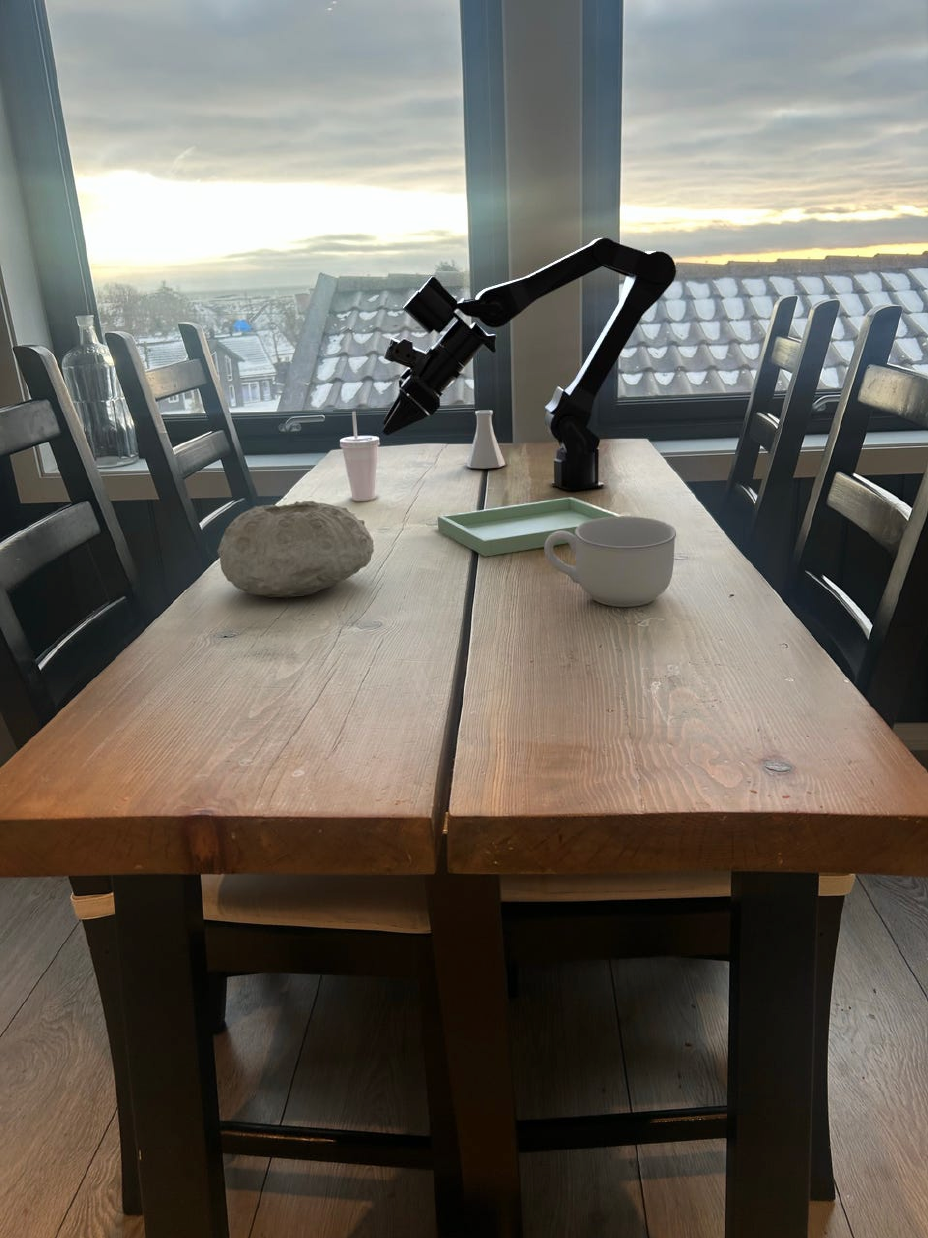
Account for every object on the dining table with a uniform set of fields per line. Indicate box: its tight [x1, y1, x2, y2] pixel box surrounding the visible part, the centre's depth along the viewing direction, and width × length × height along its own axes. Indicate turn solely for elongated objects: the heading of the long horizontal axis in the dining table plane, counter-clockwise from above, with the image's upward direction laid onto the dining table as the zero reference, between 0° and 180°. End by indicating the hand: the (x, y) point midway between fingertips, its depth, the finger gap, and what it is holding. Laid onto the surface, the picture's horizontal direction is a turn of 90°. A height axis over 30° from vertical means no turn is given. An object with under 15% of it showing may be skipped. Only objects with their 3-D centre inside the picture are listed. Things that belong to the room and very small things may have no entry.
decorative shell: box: [216, 500, 375, 598], centre depth 117 cm, size 18×18×10 cm
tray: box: [437, 496, 623, 558], centre depth 138 cm, size 22×16×2 cm
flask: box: [465, 409, 506, 470], centre depth 183 cm, size 7×7×10 cm
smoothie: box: [339, 411, 381, 502], centre depth 161 cm, size 6×6×14 cm
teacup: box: [543, 515, 677, 608], centre depth 109 cm, size 14×11×8 cm
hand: (384, 429), depth 159 cm, fingers open, 9 cm apart
